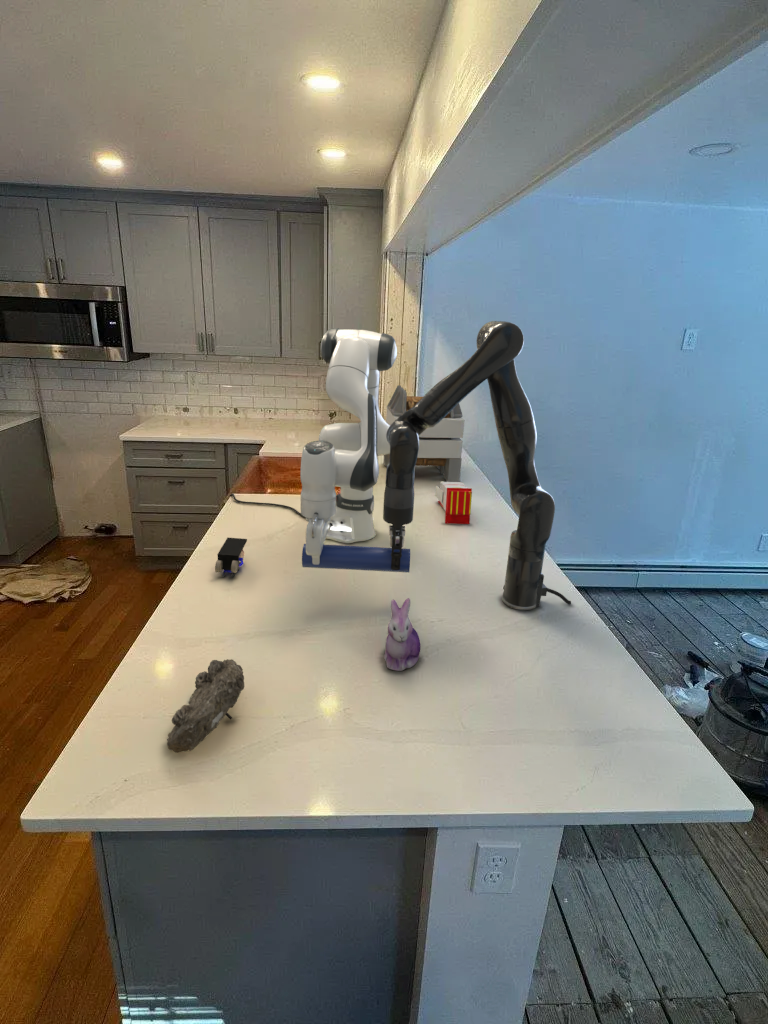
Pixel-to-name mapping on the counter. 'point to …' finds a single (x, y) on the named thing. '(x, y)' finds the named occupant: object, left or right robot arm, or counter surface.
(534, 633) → the counter surface
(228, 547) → the figurine character
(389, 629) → the figurine
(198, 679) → the fossil
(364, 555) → the rod
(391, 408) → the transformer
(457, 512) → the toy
